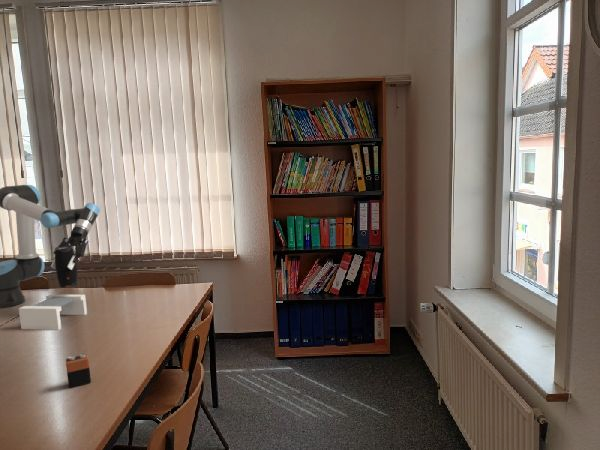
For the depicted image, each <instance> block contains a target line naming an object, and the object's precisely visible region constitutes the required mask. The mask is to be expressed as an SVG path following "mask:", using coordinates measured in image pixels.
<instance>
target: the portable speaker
mask: <svg viewBox="0 0 600 450" xmlns="http://www.w3.org/2000/svg"><path fill="white" fill-rule="evenodd" d="M73 247H74V246H65V247H58V246H57V247H54V251H55V254H54V258H55V265H56V269H55V271H56V272H55V273H56V277H57V280H58V284H59V288H64V289H65V288H66V287H69V286H71V287H75V286H77V285H78V266H77V262H76V263H75V265H74V266H73V268H72V270H70V269H69V268H68V267H67V266H68V264H69V262H70V260H71V258H72V257H73V255H74V254H75V249H74V248H73ZM74 256H75V255H74Z"/></svg>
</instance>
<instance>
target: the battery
mask: <svg viewBox="0 0 600 450" xmlns="http://www.w3.org/2000/svg"><path fill="white" fill-rule="evenodd" d="M65 366H66V374H67V383H68V387H69V389H71V388H76V387H80V386H84V385H88V384H91V382H92V379H91V370H90V361H89V356H88V354H87V353H86V354H85V353H82V354H79V355H77V356H76V355H70V356H68V357H67V358H65Z"/></svg>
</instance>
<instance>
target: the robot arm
mask: <svg viewBox="0 0 600 450" xmlns="http://www.w3.org/2000/svg"><path fill="white" fill-rule="evenodd" d="M41 200H42V199H41V194H40V191H39V190H38V189H37V188H36V186H34V185H32V184H19V185H7V186H3V187H1V188H0V208H2V209H4V210H6V211H9V212H10V211H14V212H15V220H16V233H17V249H18V250H17V251H18V254H17V255H16V256H15V259H9V260H3V261H0V308H9V307H15V306H19V305H21V304H23V303H26V298H25V297H26V296H25V295H24V294H23V291H22V290H21V286H20V283H21V282H24V281H27V280H32V279H35V278H37V277H40V276H41V275H42V274H43V273H44V272H45V268H46V267H45V262H44V260H43V258H42V257H40V254H38V253H37V250H36V249H37V248H36V233H35V232H36V231H35V220H36V221H38V222H40V223H41V225H42V226H43V227H44V228H47V229H49V228H57V227H62V226H67V225H74V227H73V228H72V230H70V231H71V232H70V236H69V237H68V238H67V237H63V239H62V241H61V242H60V244H59V245H58V246H57V247H65V246H72V247H74V255H75V256H74V255H73V257H72V258H71V260H70V262H69V264H68V266H67V267H68V268H69V269H70V270H72V268H73V266H74V265H75V263H76V264H77V262H78V260H79V259H80V258H84V256H85V252H86V249H87V245H88V243H89V242H90V241H89V239H87V237H88V235H89V232H90V230H91V228H92V226H93V225H94V223H95V221H96V220H97V217H98V215H99V214H100V211H101V209H100V207H99V206H98V205H97V204H95V203H92V202H88V203H86V205H84V207H82V208H70V209H67V210H60V211H54V210H53V209H50V208H47V207H44V206H42V205H41V204H39V203H41ZM52 254H54V255H55V250H54V251H53V252H52ZM50 267H51V268H52V269H53V270H56V265H55V257H53V259H52V263H51V265H50Z"/></svg>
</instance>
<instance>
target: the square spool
mask: <svg viewBox="0 0 600 450" xmlns="http://www.w3.org/2000/svg"><path fill="white" fill-rule="evenodd" d="M18 313H19V321H20V327H21V330H38V331H39V330H45V331H48V330H51V331H60V330H61V329H62V322H61V316H86V315H88V309H87V300H86V294H58V293H57V294H48V295H46V296H45V299H44V300H43V301H41V302H38V303H36V304H34V305H24V306H21V307H19V308H18Z"/></svg>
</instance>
